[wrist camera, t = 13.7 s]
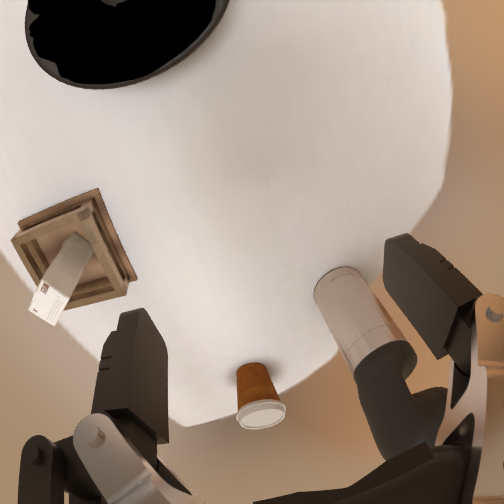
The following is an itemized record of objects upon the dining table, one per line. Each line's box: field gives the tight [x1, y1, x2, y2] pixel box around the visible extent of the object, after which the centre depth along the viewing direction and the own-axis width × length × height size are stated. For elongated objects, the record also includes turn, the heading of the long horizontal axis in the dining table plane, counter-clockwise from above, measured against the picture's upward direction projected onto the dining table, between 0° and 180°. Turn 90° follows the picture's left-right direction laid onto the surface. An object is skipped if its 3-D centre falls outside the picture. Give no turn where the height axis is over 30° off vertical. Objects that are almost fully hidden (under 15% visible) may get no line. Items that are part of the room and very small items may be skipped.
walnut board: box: [18, 188, 137, 285], centre depth 38 cm, size 15×15×1 cm
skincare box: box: [29, 232, 94, 326], centre depth 33 cm, size 6×4×12 cm
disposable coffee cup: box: [236, 363, 286, 429], centre depth 55 cm, size 10×10×12 cm
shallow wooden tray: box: [11, 197, 130, 311], centre depth 36 cm, size 13×13×4 cm
